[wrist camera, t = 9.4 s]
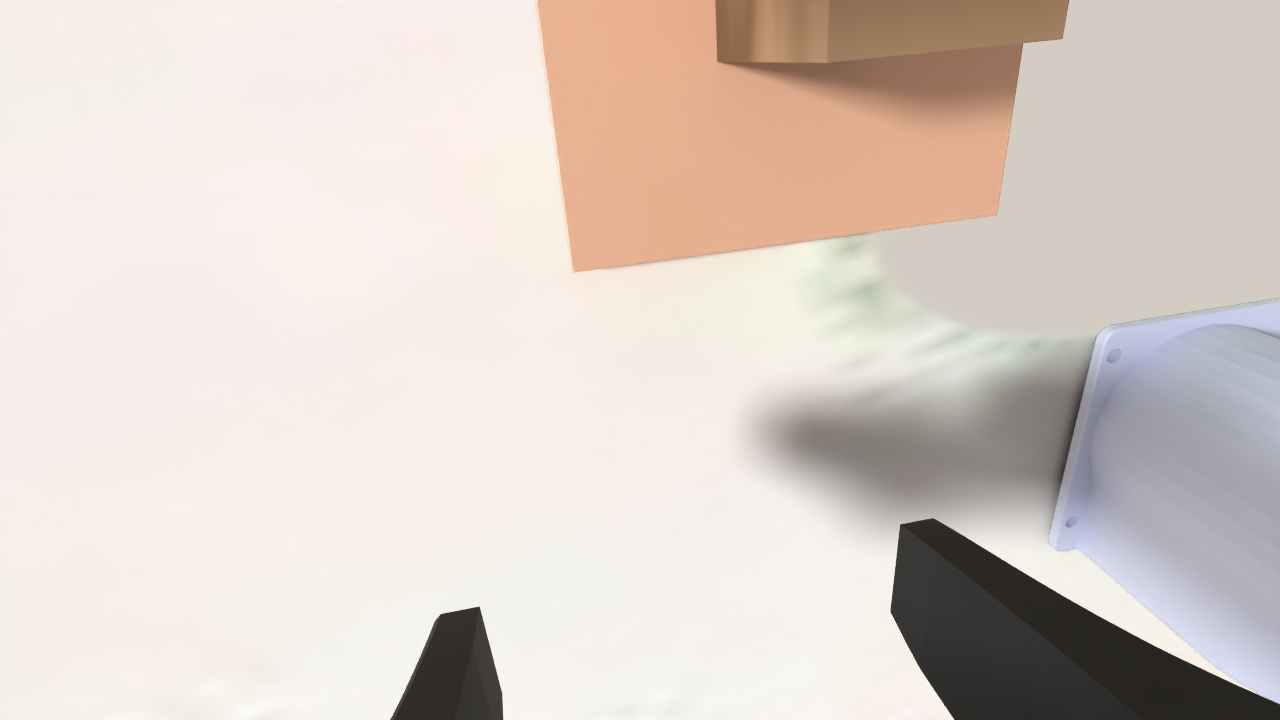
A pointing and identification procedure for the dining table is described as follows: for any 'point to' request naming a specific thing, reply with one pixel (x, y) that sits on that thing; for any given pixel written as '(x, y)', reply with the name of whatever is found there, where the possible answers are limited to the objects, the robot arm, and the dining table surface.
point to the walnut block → (876, 27)
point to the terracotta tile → (757, 136)
